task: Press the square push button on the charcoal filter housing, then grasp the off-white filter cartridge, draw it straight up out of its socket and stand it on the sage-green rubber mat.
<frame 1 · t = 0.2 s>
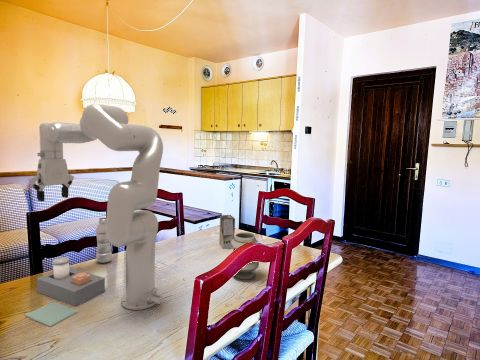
hand: (53, 199, 121), 31 cm above the table, tool pointing down, fingers open, 9 cm apart
mat: (51, 314, 96), on the table
square push button: (81, 282, 108), point 5 cm above the table, slide at 0.0 cm
housing: (71, 291, 111), on the table
plastic bottle: (104, 262, 138), on the table
apothecary jar: (243, 276, 129), on the table
cartridge: (62, 288, 113), resting in housing
coffee box: (226, 246, 166), on the table
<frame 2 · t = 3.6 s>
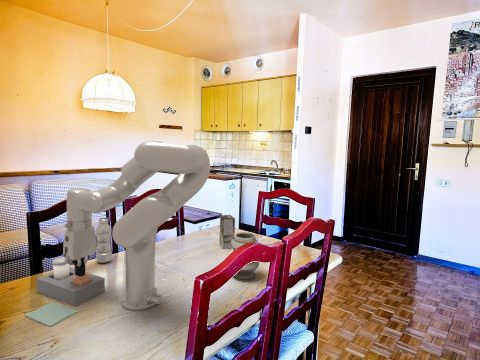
hand: (80, 275, 108), 7 cm above the table, tool pointing down, fingers closed
square push button: (81, 282, 108), point 5 cm above the table, slide at 0.3 cm, touching gripper
everything else where it was.
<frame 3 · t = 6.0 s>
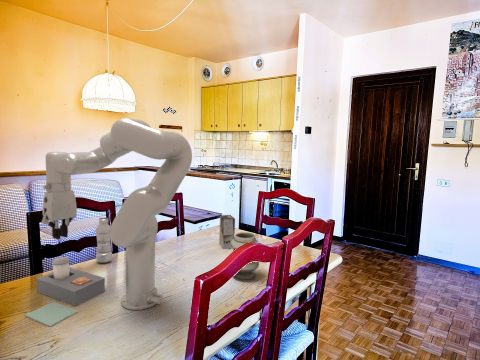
hand: (60, 237, 111), 19 cm above the table, tool pointing down, fingers closed
square push button: (81, 286, 108), point 3 cm above the table, slide at 1.6 cm
everything else where it was.
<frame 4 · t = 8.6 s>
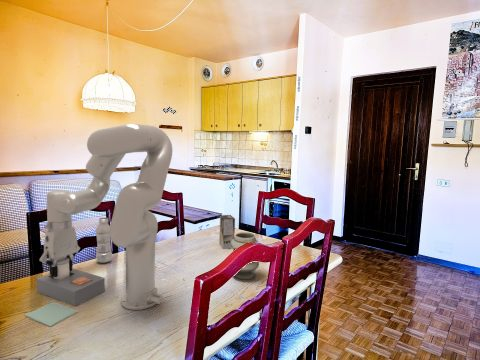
hand: (61, 272, 112), 6 cm above the table, tool pointing down, fingers closed on cartridge, 5 cm apart
cartridge: (62, 288, 113), resting in housing, touching gripper
everything else where it was.
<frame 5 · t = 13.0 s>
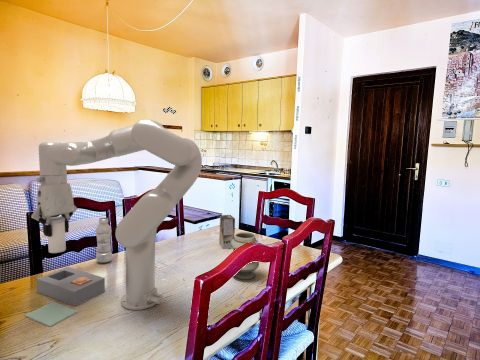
hand: (56, 233, 103), 23 cm above the table, tool pointing down, fingers closed on cartridge, 5 cm apart
cartridge: (57, 250, 104), point 17 cm above the table, touching gripper
everything else where it was.
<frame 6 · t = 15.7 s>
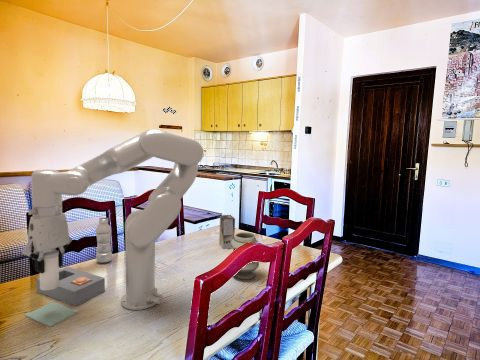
hand: (49, 268, 94), 15 cm above the table, tool pointing down, fingers closed on cartridge, 5 cm apart
cartridge: (49, 286, 95), point 9 cm above the table, touching gripper
everything else where it was.
when the fingers open (8 cm above the table, at t = 17.8 s): cartridge drops 2 cm, resting on mat.
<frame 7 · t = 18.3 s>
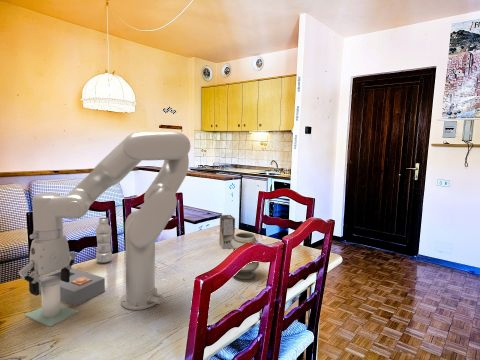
hand: (50, 287, 95), 9 cm above the table, tool pointing down, fingers open, 9 cm apart
cartridge: (51, 313, 96), resting on mat
everything else where it was.
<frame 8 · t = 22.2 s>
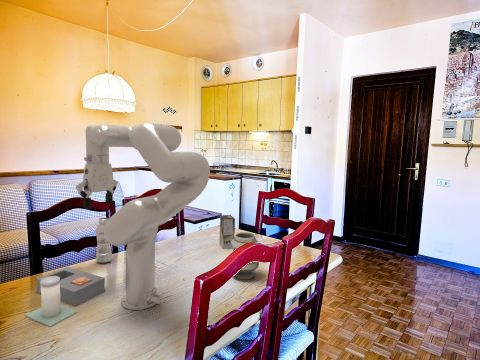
hand: (98, 206, 114), 30 cm above the table, tool pointing down, fingers open, 9 cm apart
nothing on the table moved.
at the end: square push button slide at 1.6 cm; cartridge inside the target area on the mat (0.0 cm from its centre), point 0.4 cm above the mat's base; cartridge tilted 1° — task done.
